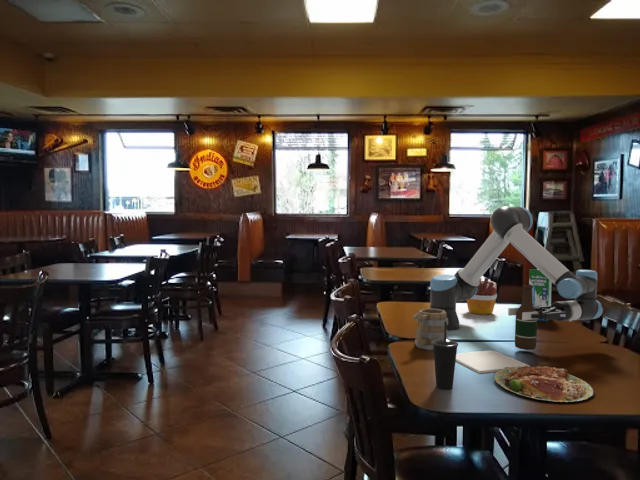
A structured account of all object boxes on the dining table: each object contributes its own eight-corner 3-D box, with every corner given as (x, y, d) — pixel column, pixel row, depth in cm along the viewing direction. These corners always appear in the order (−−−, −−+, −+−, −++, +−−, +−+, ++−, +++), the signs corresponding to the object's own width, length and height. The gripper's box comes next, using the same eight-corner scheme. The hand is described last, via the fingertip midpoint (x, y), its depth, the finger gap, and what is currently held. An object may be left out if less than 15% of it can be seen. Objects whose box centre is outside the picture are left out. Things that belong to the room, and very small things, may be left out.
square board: (446, 356, 186) (446, 354, 186) (493, 352, 192) (493, 350, 192) (479, 373, 167) (479, 371, 167) (529, 368, 173) (529, 365, 173)
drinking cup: (428, 383, 157) (429, 319, 156) (452, 382, 158) (453, 319, 157) (435, 391, 150) (437, 324, 148) (461, 391, 150) (462, 324, 149)
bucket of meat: (460, 308, 276) (461, 272, 275) (491, 309, 275) (492, 273, 274) (468, 316, 256) (469, 277, 255) (502, 317, 255) (503, 278, 254)
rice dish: (607, 412, 139) (609, 393, 138) (502, 401, 143) (503, 382, 143) (575, 378, 166) (576, 362, 166) (487, 370, 171) (488, 354, 170)
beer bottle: (538, 350, 188) (541, 286, 186) (516, 349, 189) (518, 285, 188) (534, 345, 195) (536, 283, 194) (512, 343, 197) (515, 282, 195)
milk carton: (550, 318, 254) (552, 268, 252) (547, 321, 246) (549, 270, 245) (531, 315, 259) (532, 267, 257) (527, 319, 251) (529, 269, 250)
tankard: (427, 340, 209) (428, 304, 208) (454, 346, 200) (455, 308, 199) (398, 349, 195) (398, 310, 194) (425, 356, 186) (426, 315, 185)
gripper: (585, 326, 187) (534, 330, 181) (546, 315, 207) (498, 318, 200) (586, 306, 187) (534, 309, 180) (546, 296, 206) (499, 299, 199)
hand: (515, 314), depth 190 cm, fingers closed on beer bottle, 7 cm apart
